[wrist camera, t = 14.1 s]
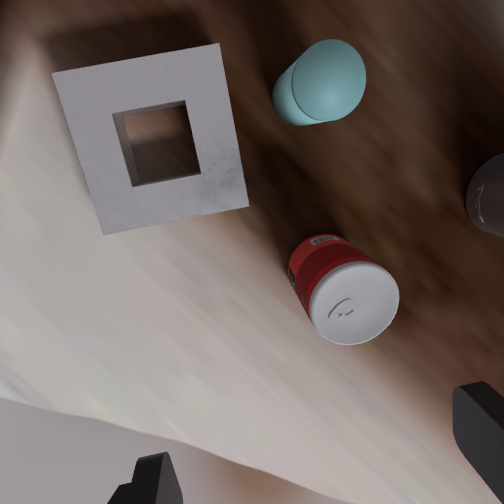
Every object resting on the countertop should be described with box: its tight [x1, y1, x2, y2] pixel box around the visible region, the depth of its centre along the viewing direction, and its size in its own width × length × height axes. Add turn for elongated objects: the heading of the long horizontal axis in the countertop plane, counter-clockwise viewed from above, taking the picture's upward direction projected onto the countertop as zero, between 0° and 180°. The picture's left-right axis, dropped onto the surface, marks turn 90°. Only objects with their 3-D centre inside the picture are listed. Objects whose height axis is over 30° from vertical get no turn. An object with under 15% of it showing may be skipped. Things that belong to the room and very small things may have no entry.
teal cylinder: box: [272, 39, 366, 126], centre depth 31 cm, size 5×5×10 cm
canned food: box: [288, 234, 399, 345], centre depth 36 cm, size 8×8×11 cm
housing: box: [52, 43, 249, 235], centre depth 34 cm, size 14×14×4 cm
